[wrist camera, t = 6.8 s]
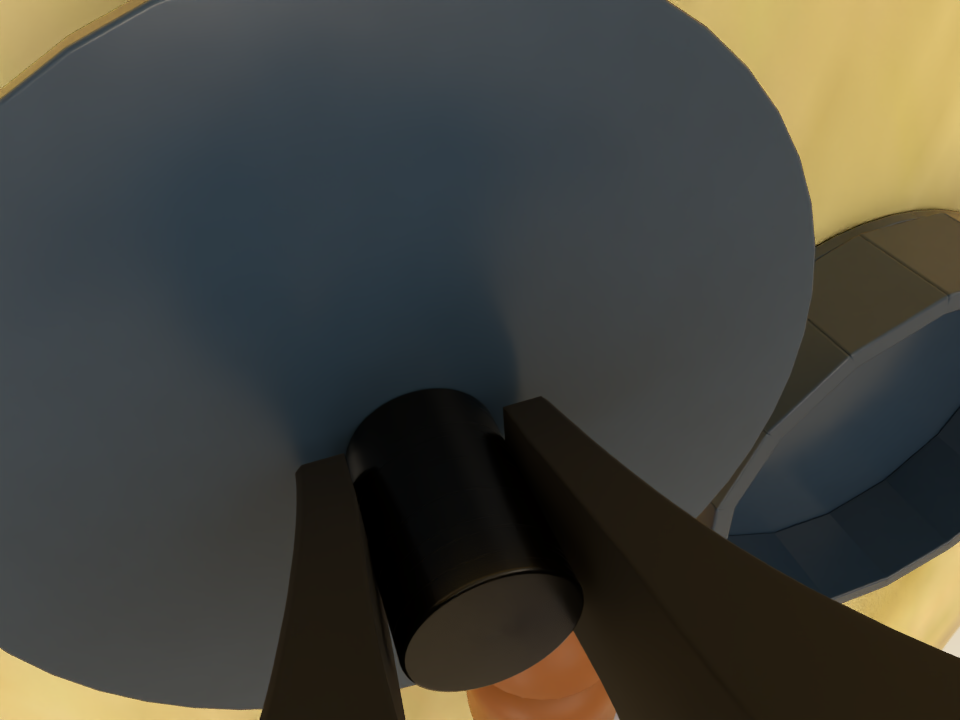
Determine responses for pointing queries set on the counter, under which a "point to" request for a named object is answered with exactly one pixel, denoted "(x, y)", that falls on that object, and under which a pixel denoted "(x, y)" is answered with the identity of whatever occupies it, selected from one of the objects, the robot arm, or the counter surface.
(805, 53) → the counter surface
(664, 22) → the pot lid
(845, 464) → the pot
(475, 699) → the orange capsule
